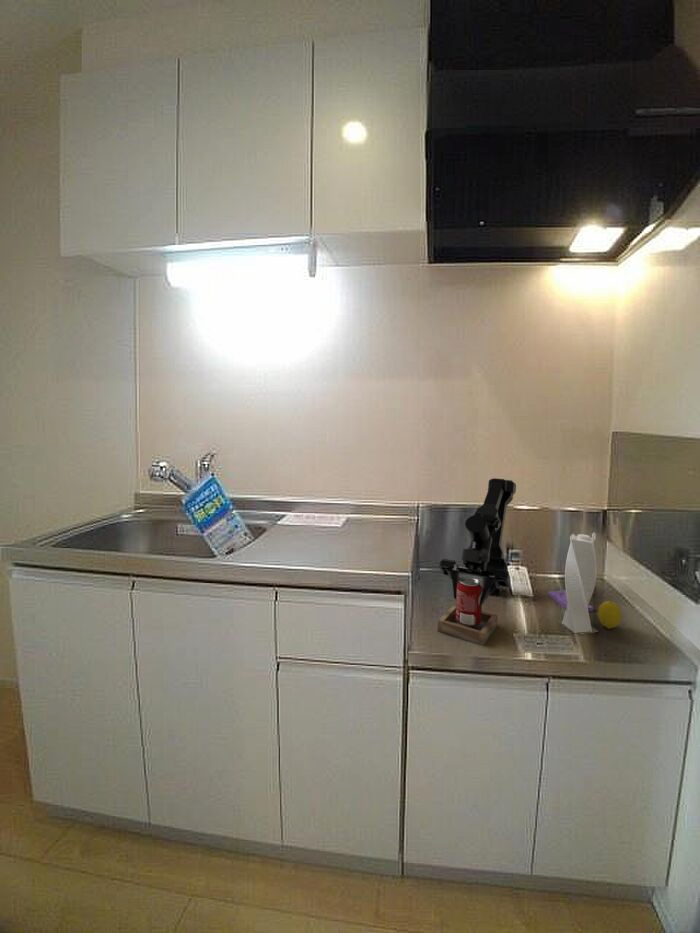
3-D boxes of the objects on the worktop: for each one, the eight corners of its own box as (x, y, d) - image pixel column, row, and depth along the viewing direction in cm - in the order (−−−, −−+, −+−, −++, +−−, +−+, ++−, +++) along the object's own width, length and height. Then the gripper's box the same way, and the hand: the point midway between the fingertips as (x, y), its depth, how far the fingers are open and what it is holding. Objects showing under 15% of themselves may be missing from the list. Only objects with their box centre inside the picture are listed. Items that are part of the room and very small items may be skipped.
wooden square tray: (454, 613, 126) (454, 604, 125) (496, 625, 119) (497, 615, 118) (437, 631, 116) (437, 620, 115) (483, 645, 109) (483, 634, 108)
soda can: (475, 631, 113) (477, 588, 111) (451, 623, 117) (452, 581, 115) (484, 621, 118) (486, 579, 116) (461, 614, 122) (462, 574, 120)
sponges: (567, 595, 140) (567, 589, 140) (593, 613, 128) (593, 607, 128) (547, 596, 139) (547, 590, 139) (571, 614, 127) (572, 608, 127)
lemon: (617, 625, 119) (619, 598, 118) (622, 635, 114) (625, 606, 113) (594, 622, 121) (596, 595, 120) (599, 631, 116) (601, 603, 115)
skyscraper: (601, 635, 114) (610, 533, 110) (574, 637, 112) (582, 534, 109) (580, 620, 122) (587, 525, 119) (554, 622, 121) (560, 526, 117)
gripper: (442, 531, 122) (427, 581, 114) (510, 541, 113) (500, 596, 105) (449, 550, 130) (436, 598, 122) (514, 560, 121) (504, 613, 113)
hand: (467, 601), depth 115 cm, fingers closed on soda can, 7 cm apart
